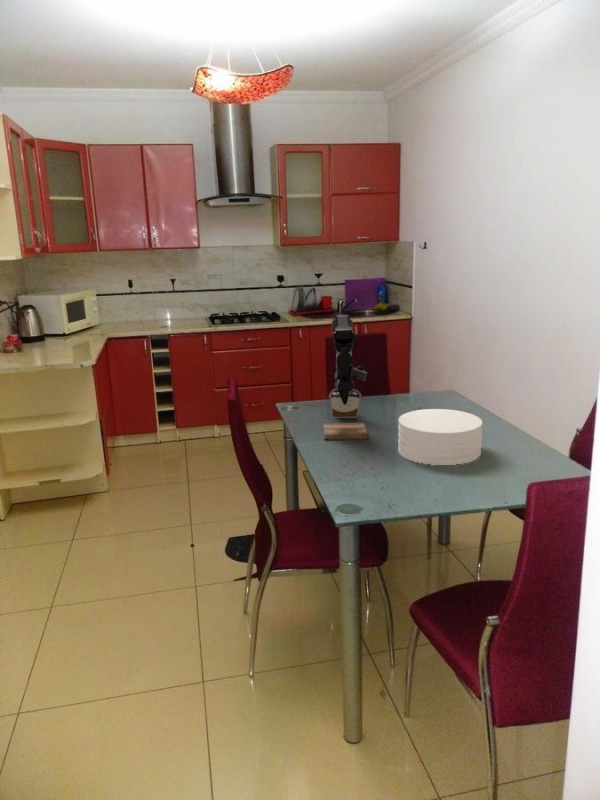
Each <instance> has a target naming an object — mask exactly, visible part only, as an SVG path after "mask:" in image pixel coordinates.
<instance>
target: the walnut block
mask: <svg viewBox="0 0 600 800" xmlns="http://www.w3.org/2000/svg"><path fill="white" fill-rule="evenodd" d="M322 426H323V435H324V437H325V438H324V437H323V438H324V440H325V439H329V440H328V441H331V440H330V439H338V440H339V441H340V440H341V439H342V440H365V439H366V440H368V431H367V428H366V425H365V422H341V423H340V422H338V423H337V422H336V423H335V422H334V423H323V425H322ZM338 440H337V441H338Z"/></svg>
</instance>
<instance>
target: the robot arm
mask: <svg viewBox="0 0 600 800" xmlns="http://www.w3.org/2000/svg"><path fill="white" fill-rule="evenodd" d="M353 325H354V323H353V319H351V318H350V317H349V314H336V317H335V318H334V319H333V320H332V321H331V334H332V335H333V339H332V340H333V349H334V350H335V355H336V357H335V359H336V360H335V367H336V372H335V373H334V379H335V384H334V388H332V390H334V389H337V390H338V392H339V394H340V397H341V399H342V402H343V404H344V405H346V404H347V400H348V395H349V392H350V391H351V390H353V389H355V382H354V379H357V380H359V381H361V382H365V381H366V378H367V375H368V372H367V371H366V370H364V367H363V366H362V365H358V366H356V367H354V366H353V355H352V353H353V352H352V349H355V346H357V339H356V338H357V335H356V333H355V331H354V330H353V329H354V327H353Z"/></svg>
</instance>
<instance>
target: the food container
mask: <svg viewBox="0 0 600 800" xmlns="http://www.w3.org/2000/svg"><path fill="white" fill-rule="evenodd" d="M333 389H334V390H333ZM333 389H331V391H330V393H329V395H328V399H330V408H331V417H332V418H334V419H335V418H336V419H337V418H339V419H340V418H341V419H343V418H344V419H345V418H346V419H349V418H354V419H355V418H358V415H359V414H358V412H359V406H360V401H361V399H362V394H361V392H360V391H359V390H358V389H355V388H354V389H353V390H351V391H350V392H349V395H348V400H347V404H346V405H344V404H343V402H342V399H341V397H340V394H339V392H338V390H337V389H335V388H333Z"/></svg>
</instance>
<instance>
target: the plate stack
mask: <svg viewBox="0 0 600 800" xmlns="http://www.w3.org/2000/svg"><path fill="white" fill-rule="evenodd" d="M397 430H398V433H397V434H398V435H397V436H398V439H397V442H398V443H397V444H398V446H397V447H398V448H397V449H398V450H397V452H398V454H399V455H400V456H401V457H403V458H404V459H406V460H408V461H410V462H413V461H414V462H413V463H417V462H418V463H417V464H421V463H423V464H422V465H427V464H431V465H430V466H435V465H455V466H457V465H456V464H462V463H467V462H471V461H473V460H475V461H477V460H478V459H479V458H480V457H481V456H480V455H482V439H483V438H482V434H483V420H482V418H480V417H479V416H477V415H475V414H472V413H470V412H465V411H461V410H455V409H445V408H428V409H427V408H424V409H417V410H412V411H408V412H405V413H403V414H401V415H400V416H399V417H398V429H397ZM479 456H480V457H479ZM478 457H479V458H478ZM477 458H478V459H477ZM476 459H477V460H476ZM473 462H474V461H473ZM471 463H472V462H471ZM467 464H468V463H467ZM462 465H463V464H462Z"/></svg>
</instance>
